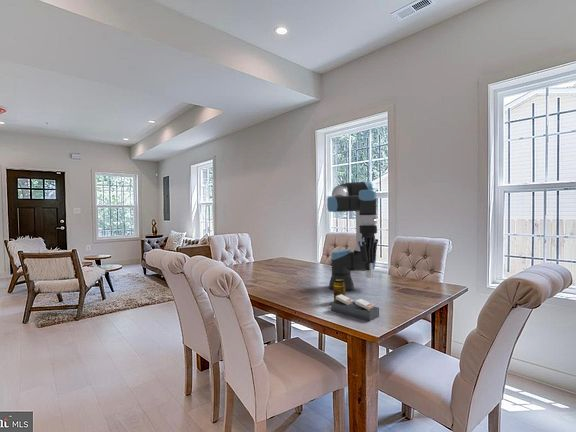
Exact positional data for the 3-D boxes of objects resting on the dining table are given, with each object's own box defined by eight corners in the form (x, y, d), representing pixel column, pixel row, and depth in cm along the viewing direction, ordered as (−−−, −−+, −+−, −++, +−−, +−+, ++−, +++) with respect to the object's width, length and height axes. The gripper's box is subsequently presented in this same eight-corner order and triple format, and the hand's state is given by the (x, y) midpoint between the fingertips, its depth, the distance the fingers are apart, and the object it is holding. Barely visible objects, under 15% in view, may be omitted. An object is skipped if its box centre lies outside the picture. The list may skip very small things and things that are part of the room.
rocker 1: (335, 298, 147) (336, 295, 146) (341, 296, 150) (341, 293, 150) (347, 305, 142) (348, 301, 142) (352, 302, 145) (353, 299, 145)
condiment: (330, 303, 159) (330, 280, 159) (339, 299, 165) (338, 277, 165) (342, 305, 154) (342, 282, 154) (351, 301, 161) (350, 278, 160)
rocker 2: (355, 303, 139) (355, 300, 139) (360, 301, 142) (360, 298, 142) (368, 310, 134) (368, 306, 134) (373, 307, 137) (374, 304, 137)
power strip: (325, 309, 149) (325, 299, 149) (335, 305, 155) (335, 296, 155) (369, 321, 132) (369, 310, 131) (379, 316, 137) (379, 306, 137)
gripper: (367, 225, 128) (368, 281, 129) (383, 223, 137) (384, 276, 138) (352, 225, 133) (353, 278, 134) (368, 223, 142) (369, 273, 143)
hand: (369, 277), depth 136 cm, fingers closed
